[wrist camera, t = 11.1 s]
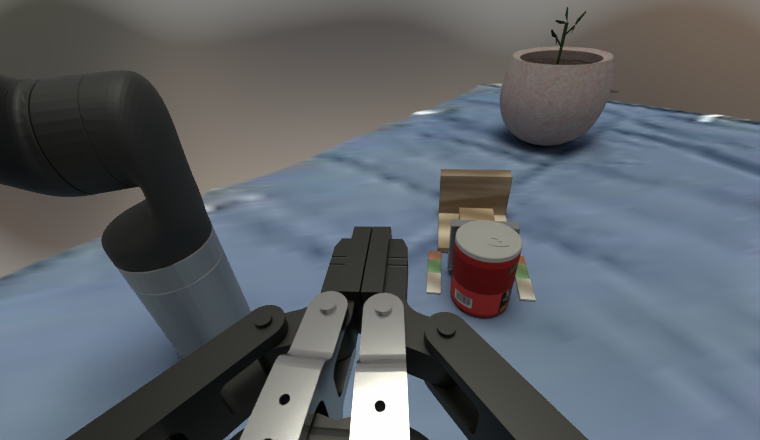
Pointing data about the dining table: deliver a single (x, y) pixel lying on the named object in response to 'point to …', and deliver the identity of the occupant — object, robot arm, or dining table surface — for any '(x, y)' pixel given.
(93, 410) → the dining table surface
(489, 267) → the canned food
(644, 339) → the dining table surface
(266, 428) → the robot arm
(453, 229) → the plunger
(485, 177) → the wooden stand
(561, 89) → the plant pot
